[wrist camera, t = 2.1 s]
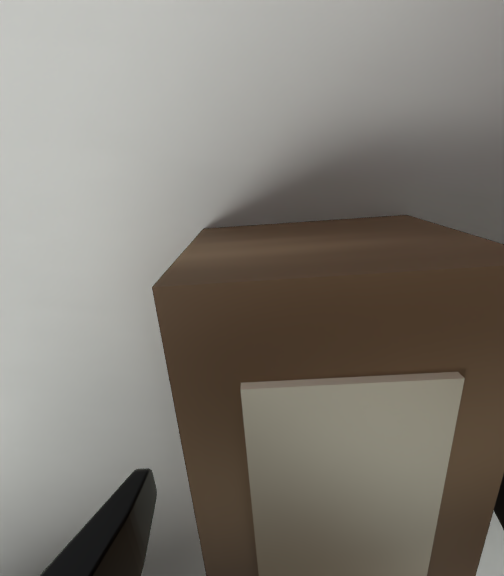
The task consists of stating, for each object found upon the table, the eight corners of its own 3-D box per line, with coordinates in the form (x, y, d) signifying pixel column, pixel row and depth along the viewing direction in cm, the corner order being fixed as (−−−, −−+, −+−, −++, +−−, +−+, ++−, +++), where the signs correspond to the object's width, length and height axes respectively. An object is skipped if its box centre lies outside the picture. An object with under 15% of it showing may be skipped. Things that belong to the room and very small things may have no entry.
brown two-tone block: (371, 550, 13) (432, 752, 8) (244, 554, 13) (237, 754, 8) (402, 213, 8) (573, 265, 4) (205, 227, 8) (148, 291, 4)
